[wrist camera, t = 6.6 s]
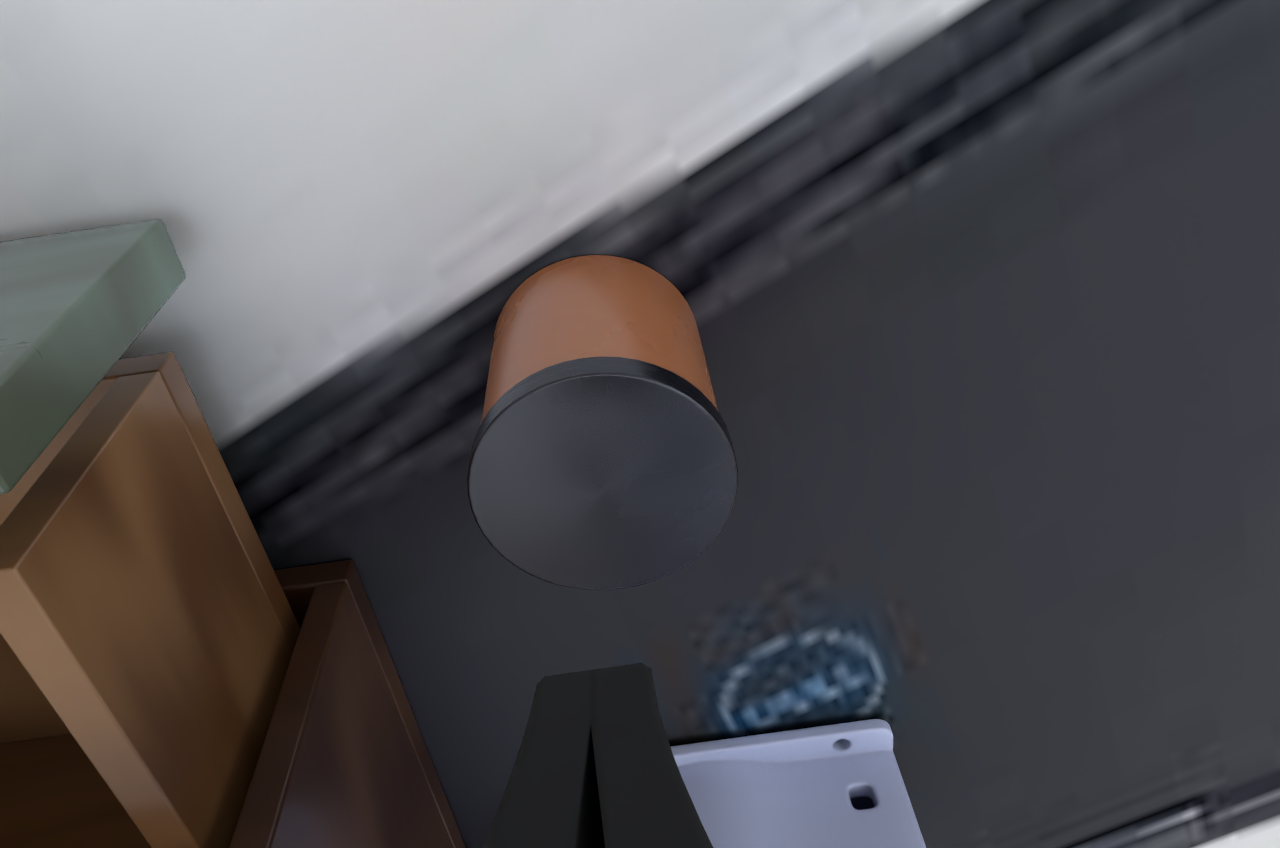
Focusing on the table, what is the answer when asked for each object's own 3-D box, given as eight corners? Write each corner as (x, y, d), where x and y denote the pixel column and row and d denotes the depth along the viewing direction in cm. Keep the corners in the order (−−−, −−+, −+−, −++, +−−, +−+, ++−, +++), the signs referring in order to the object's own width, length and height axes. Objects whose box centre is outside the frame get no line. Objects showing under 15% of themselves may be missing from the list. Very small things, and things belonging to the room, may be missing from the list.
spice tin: (692, 233, 19) (727, 354, 15) (712, 424, 21) (747, 572, 17) (466, 267, 19) (437, 396, 15) (512, 452, 22) (498, 606, 17)
